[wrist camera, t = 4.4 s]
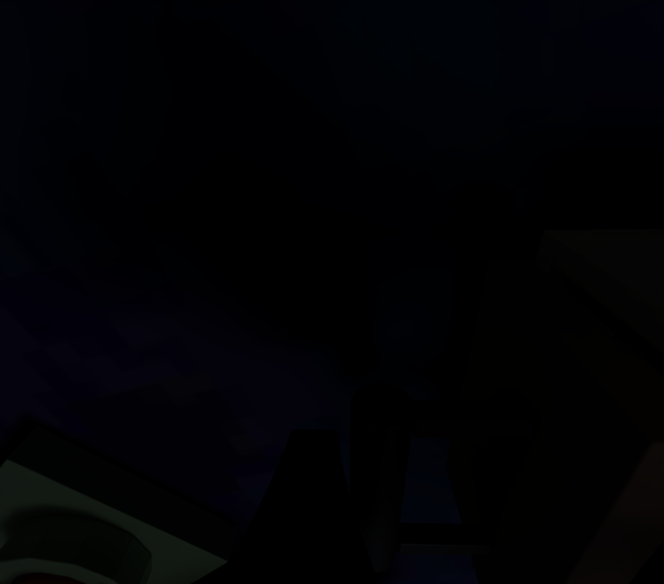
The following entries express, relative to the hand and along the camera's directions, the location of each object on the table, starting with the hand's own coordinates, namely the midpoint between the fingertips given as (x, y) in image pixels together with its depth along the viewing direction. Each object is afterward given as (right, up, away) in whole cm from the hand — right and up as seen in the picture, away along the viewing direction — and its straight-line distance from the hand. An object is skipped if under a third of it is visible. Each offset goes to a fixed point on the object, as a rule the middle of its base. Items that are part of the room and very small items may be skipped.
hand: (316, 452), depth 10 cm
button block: (-12, -7, +9) cm, 17 cm away
